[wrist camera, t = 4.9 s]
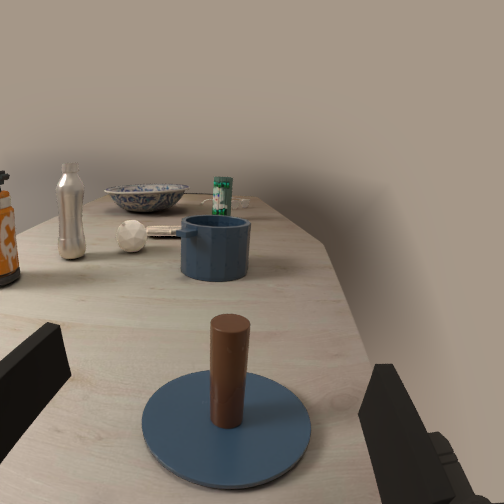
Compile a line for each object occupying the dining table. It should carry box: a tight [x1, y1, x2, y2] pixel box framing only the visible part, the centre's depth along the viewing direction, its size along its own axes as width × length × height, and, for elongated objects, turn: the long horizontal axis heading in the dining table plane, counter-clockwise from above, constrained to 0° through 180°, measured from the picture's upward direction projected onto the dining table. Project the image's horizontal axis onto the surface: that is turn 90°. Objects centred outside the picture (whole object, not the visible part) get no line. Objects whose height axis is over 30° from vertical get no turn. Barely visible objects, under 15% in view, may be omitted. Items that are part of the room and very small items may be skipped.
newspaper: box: [146, 226, 181, 236], centre depth 87 cm, size 23×12×2 cm, turn 102°
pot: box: [176, 215, 251, 282], centre depth 60 cm, size 13×18×10 cm
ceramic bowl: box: [104, 184, 190, 212], centre depth 120 cm, size 34×34×10 cm
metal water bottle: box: [56, 163, 86, 259], centre depth 58 cm, size 6×7×20 cm
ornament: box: [116, 220, 148, 252], centre depth 68 cm, size 7×7×8 cm
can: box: [212, 177, 233, 216], centre depth 110 cm, size 6×6×15 cm
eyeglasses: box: [201, 198, 250, 209], centre depth 147 cm, size 15×18×4 cm
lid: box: [142, 314, 311, 489], centre depth 22 cm, size 14×14×10 cm
